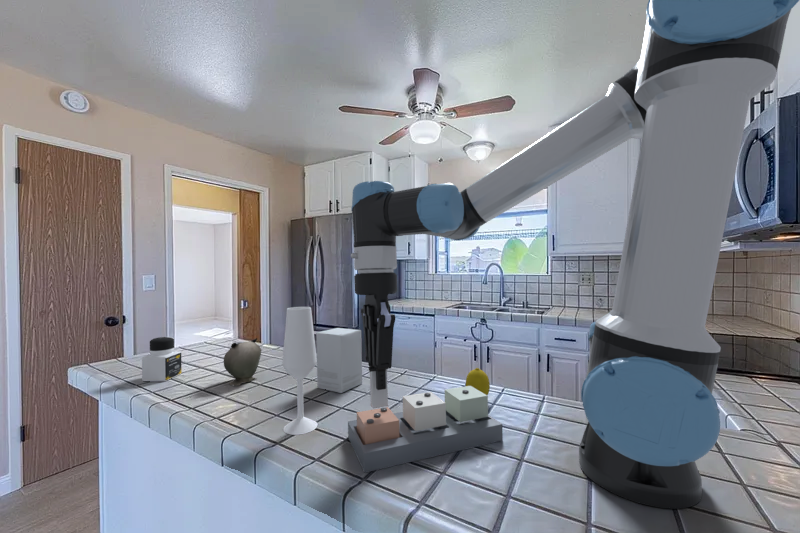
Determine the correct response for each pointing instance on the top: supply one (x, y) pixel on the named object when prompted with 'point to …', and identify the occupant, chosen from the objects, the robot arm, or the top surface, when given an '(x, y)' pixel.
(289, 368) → the champagne flute
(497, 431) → the console
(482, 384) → the lemon
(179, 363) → the medicine bottle
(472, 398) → the tile one
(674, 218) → the robot arm
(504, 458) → the top surface
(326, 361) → the supplement box
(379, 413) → the tile three
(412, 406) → the tile two
